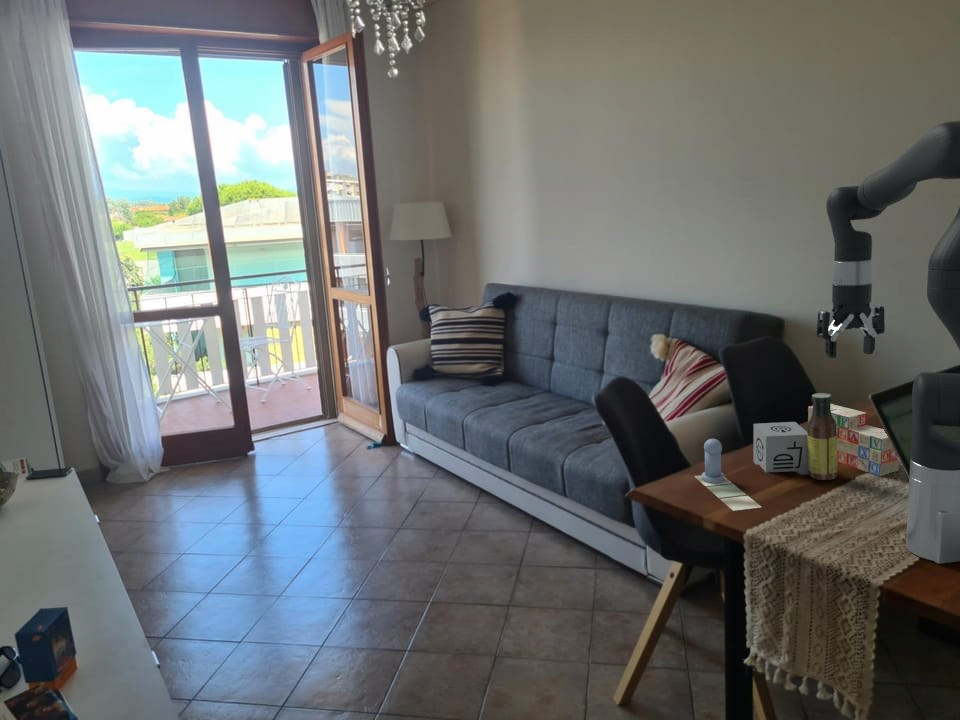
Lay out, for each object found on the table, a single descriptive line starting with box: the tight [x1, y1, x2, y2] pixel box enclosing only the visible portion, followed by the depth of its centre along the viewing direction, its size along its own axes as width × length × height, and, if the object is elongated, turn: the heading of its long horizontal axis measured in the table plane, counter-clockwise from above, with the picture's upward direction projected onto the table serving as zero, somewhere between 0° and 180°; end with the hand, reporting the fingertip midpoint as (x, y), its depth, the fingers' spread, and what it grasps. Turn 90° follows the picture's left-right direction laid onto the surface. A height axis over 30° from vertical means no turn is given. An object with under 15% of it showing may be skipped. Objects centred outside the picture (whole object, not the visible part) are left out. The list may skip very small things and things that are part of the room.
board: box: [694, 474, 762, 512], centre depth 160 cm, size 21×7×1 cm, turn 6°
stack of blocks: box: [807, 403, 900, 477], centre depth 173 cm, size 21×6×12 cm, turn 22°
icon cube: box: [752, 421, 809, 476], centre depth 173 cm, size 10×10×10 cm
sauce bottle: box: [806, 392, 838, 481], centre depth 164 cm, size 6×6×20 cm
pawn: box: [701, 438, 725, 484], centre depth 166 cm, size 5×5×10 cm
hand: (849, 355), depth 155 cm, fingers open, 8 cm apart
